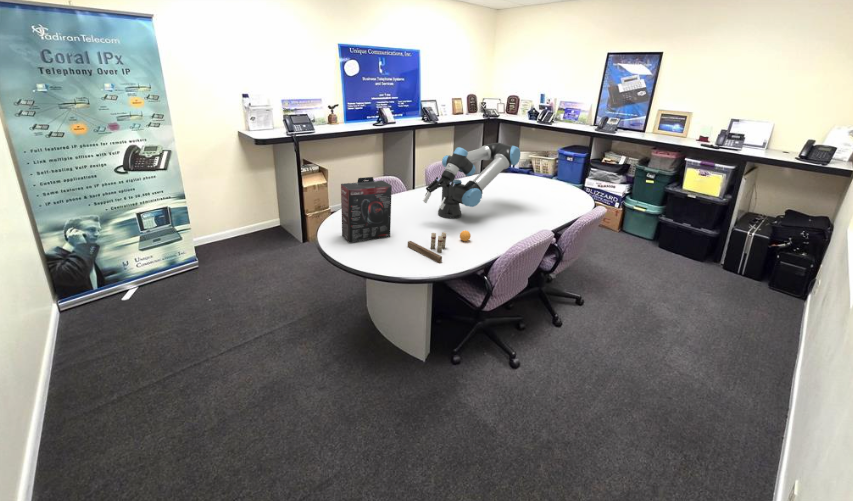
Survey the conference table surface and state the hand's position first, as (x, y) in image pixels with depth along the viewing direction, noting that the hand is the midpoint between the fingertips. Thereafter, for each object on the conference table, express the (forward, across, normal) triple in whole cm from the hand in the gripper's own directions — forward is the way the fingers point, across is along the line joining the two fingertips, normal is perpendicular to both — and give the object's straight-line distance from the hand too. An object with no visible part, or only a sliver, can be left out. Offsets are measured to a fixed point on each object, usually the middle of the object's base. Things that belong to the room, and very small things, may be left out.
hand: (432, 205), depth 236 cm
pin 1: (+22, +20, -5) cm, 31 cm away
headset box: (+34, -13, -20) cm, 42 cm away
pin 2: (+22, +25, -5) cm, 34 cm away
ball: (+7, +23, +11) cm, 26 cm away
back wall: (+28, +23, -12) cm, 38 cm away
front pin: (+20, +23, -1) cm, 30 cm away
